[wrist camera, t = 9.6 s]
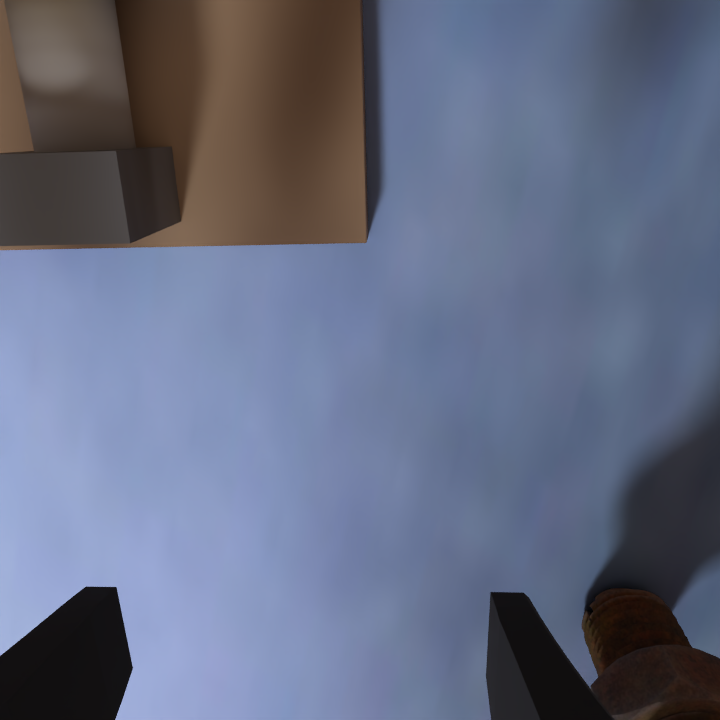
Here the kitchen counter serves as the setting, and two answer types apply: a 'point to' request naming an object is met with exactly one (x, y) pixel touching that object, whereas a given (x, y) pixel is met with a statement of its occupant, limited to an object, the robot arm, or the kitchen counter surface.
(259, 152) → the coupling base
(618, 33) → the kitchen counter surface
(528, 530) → the kitchen counter surface
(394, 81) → the kitchen counter surface
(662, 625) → the bolt
